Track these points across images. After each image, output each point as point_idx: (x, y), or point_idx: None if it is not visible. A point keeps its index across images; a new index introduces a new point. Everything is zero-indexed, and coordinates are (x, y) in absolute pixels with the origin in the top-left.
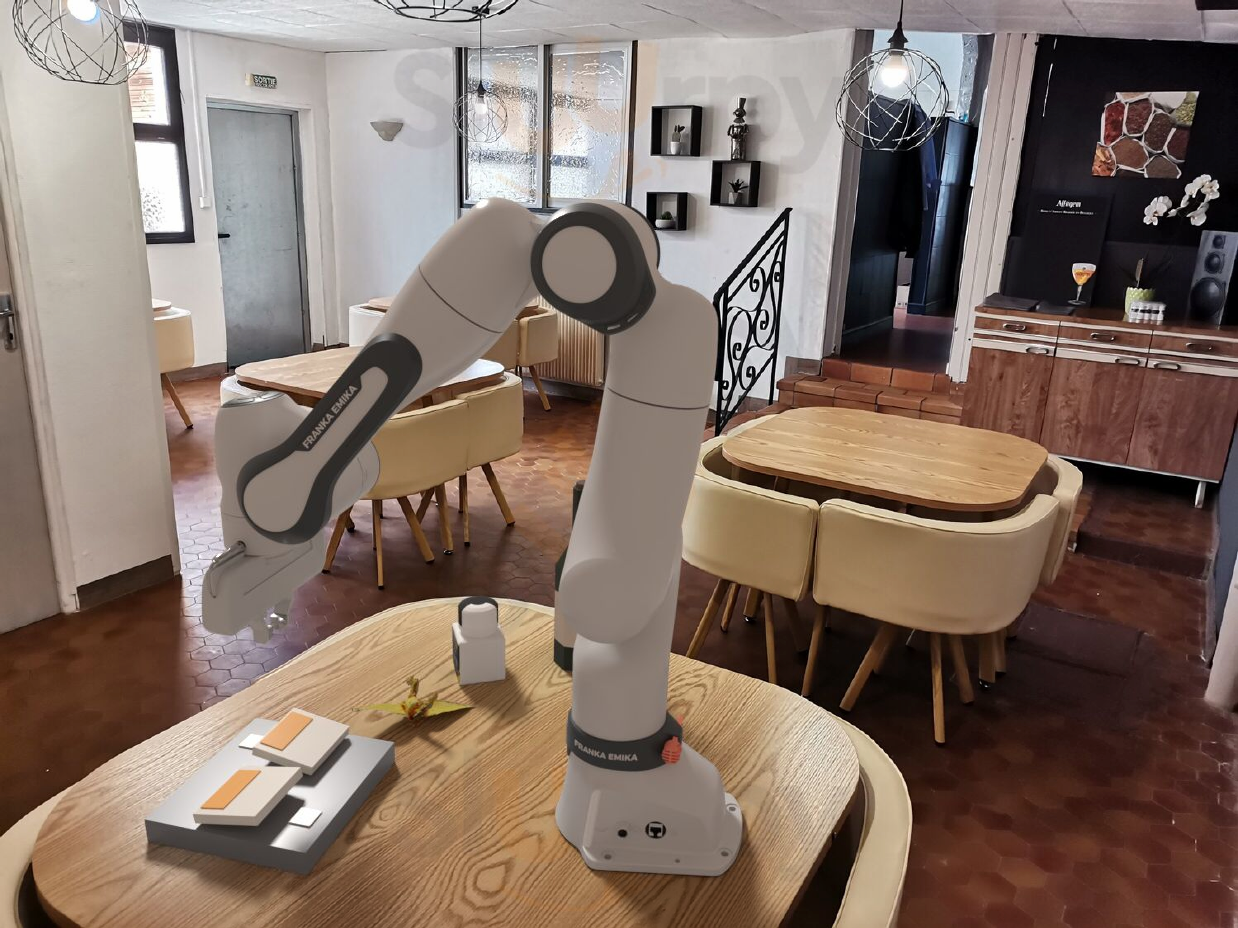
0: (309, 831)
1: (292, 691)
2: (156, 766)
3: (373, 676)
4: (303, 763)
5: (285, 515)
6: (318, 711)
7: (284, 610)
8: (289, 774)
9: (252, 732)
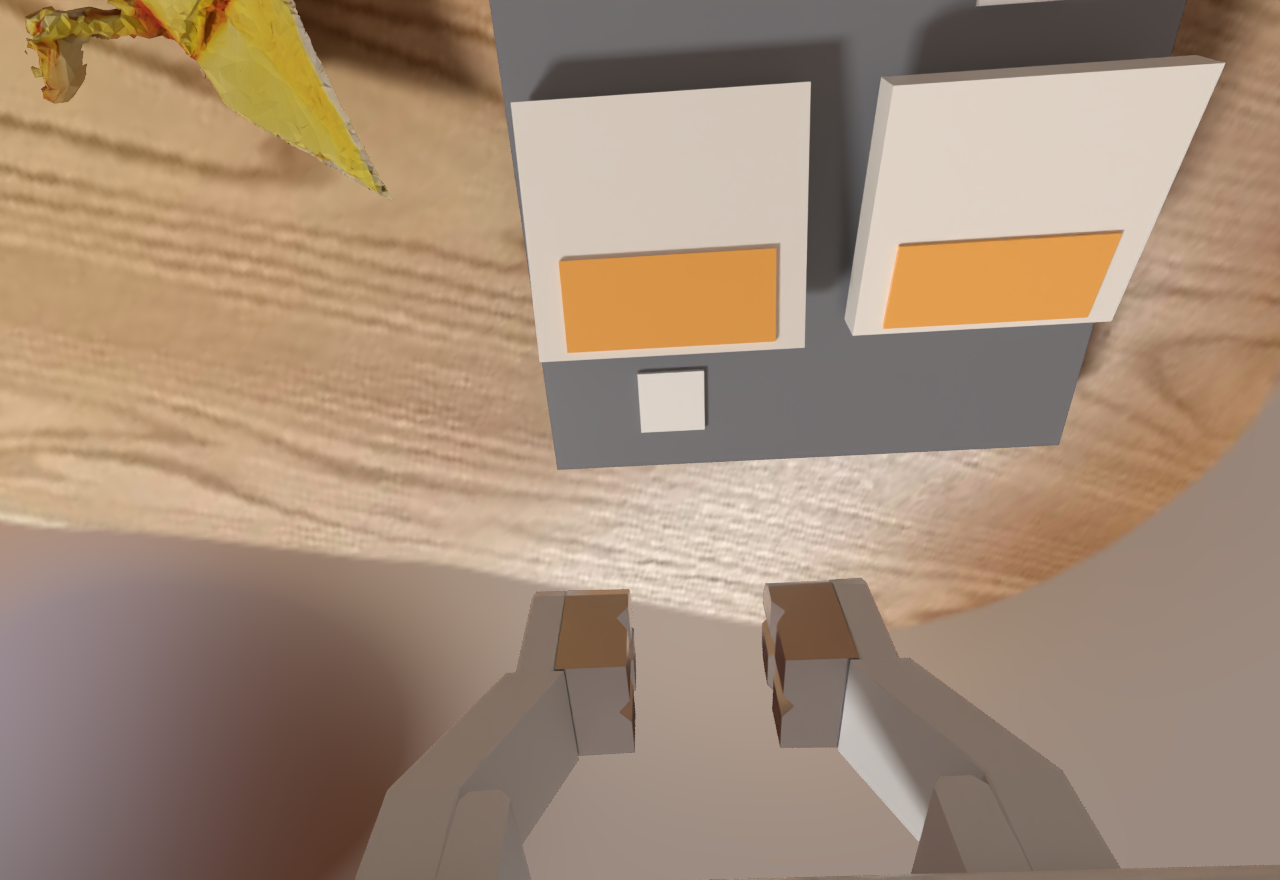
0: None
1: (338, 481)
2: (755, 566)
3: (110, 307)
4: (805, 127)
5: None
6: (377, 356)
7: (544, 720)
8: (942, 103)
9: (627, 434)
